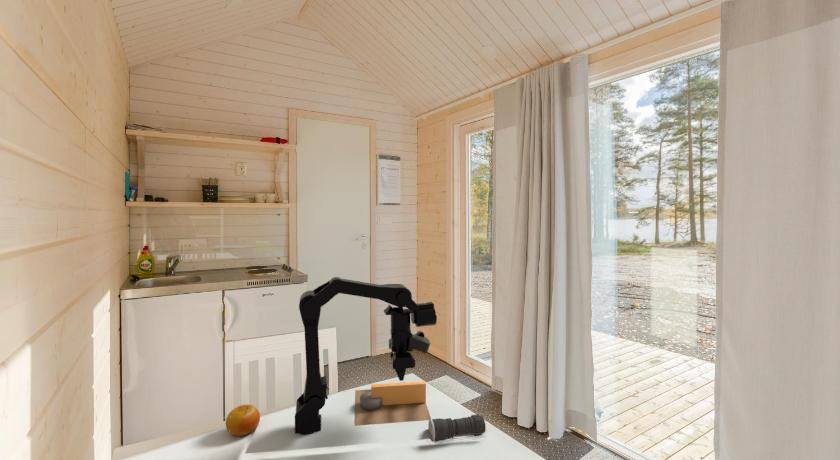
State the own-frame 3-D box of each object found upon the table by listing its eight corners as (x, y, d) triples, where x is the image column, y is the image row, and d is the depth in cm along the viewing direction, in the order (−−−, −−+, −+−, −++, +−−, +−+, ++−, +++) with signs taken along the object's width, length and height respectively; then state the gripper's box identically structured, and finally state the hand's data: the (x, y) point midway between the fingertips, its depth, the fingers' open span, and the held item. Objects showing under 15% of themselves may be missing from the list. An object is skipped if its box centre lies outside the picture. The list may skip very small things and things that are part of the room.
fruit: (216, 419, 113) (232, 397, 112) (243, 418, 120) (258, 397, 119) (225, 445, 108) (242, 421, 107) (253, 442, 114) (269, 419, 114)
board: (354, 430, 114) (354, 425, 114) (355, 394, 136) (355, 389, 136) (431, 424, 117) (431, 419, 117) (420, 390, 139) (420, 385, 139)
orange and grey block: (360, 411, 122) (360, 391, 121) (360, 400, 128) (360, 381, 128) (427, 406, 125) (427, 387, 124) (423, 395, 131) (423, 377, 131)
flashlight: (479, 427, 116) (480, 409, 116) (487, 438, 111) (487, 419, 111) (428, 434, 112) (428, 415, 112) (433, 445, 107) (433, 426, 107)
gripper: (433, 336, 109) (433, 392, 110) (423, 317, 128) (423, 365, 129) (392, 339, 108) (393, 395, 109) (388, 319, 126) (389, 368, 127)
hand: (401, 380), depth 118 cm, fingers closed
